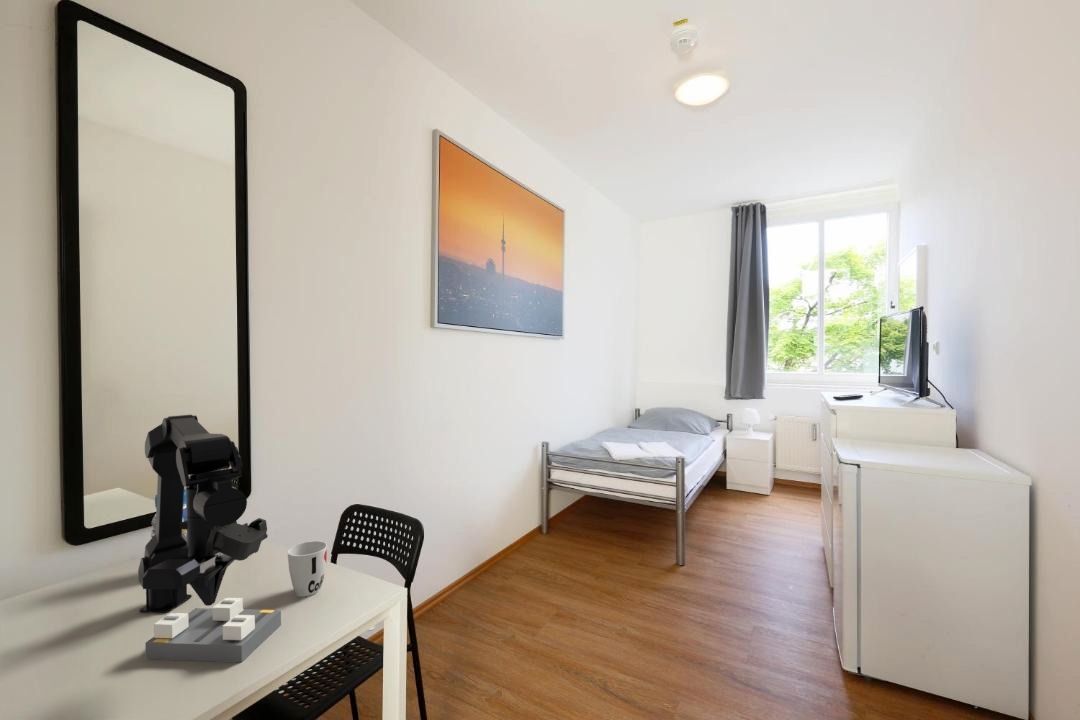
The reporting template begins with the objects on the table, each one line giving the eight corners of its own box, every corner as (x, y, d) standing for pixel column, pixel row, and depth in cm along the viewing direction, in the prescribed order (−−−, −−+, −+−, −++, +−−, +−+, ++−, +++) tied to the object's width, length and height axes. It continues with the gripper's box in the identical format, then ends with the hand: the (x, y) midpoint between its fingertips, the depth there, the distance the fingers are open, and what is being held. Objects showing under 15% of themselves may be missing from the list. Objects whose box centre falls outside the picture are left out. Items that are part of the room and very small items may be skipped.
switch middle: (212, 620, 87) (212, 606, 87) (226, 610, 90) (226, 596, 90) (229, 620, 87) (229, 606, 87) (242, 610, 90) (242, 596, 90)
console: (145, 659, 81) (145, 641, 81) (196, 622, 92) (195, 607, 92) (241, 662, 80) (241, 644, 80) (281, 625, 91) (280, 609, 91)
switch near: (154, 637, 82) (153, 622, 82) (170, 626, 85) (170, 611, 85) (172, 638, 81) (172, 623, 81) (188, 626, 85) (188, 611, 85)
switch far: (222, 639, 81) (222, 624, 81) (236, 627, 84) (236, 613, 84) (241, 640, 81) (241, 624, 81) (254, 628, 84) (254, 613, 84)
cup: (311, 602, 99) (310, 557, 99) (279, 598, 101) (279, 554, 101) (335, 583, 107) (334, 542, 107) (305, 580, 109) (304, 539, 109)
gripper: (210, 533, 66) (212, 639, 66) (288, 495, 85) (289, 577, 85) (138, 533, 67) (140, 638, 67) (231, 495, 85) (233, 577, 85)
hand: (209, 604), depth 76 cm, fingers closed
